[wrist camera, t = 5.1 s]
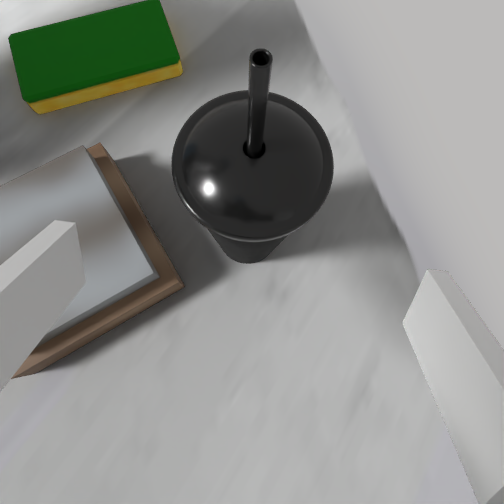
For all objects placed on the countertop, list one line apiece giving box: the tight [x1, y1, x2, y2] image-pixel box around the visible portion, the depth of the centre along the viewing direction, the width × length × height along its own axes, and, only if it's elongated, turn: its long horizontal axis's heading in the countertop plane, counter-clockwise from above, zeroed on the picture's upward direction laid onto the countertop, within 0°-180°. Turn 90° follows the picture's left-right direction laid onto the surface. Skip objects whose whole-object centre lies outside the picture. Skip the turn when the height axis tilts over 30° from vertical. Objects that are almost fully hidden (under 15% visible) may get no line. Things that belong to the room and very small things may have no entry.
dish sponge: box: [8, 0, 183, 114], centre depth 32 cm, size 7×14×2 cm, turn 109°
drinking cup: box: [172, 49, 334, 264], centre depth 20 cm, size 8×8×20 cm
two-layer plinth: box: [0, 143, 185, 379], centre depth 26 cm, size 13×13×5 cm
